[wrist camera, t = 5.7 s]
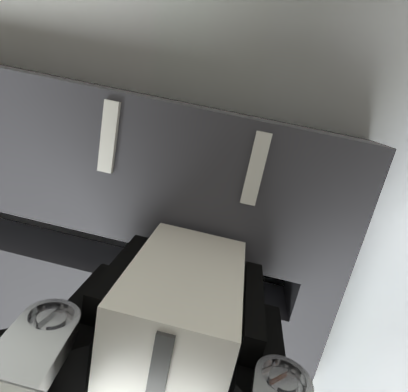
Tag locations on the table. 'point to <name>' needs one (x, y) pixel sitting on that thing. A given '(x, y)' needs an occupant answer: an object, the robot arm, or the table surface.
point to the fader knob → (172, 316)
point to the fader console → (178, 194)
